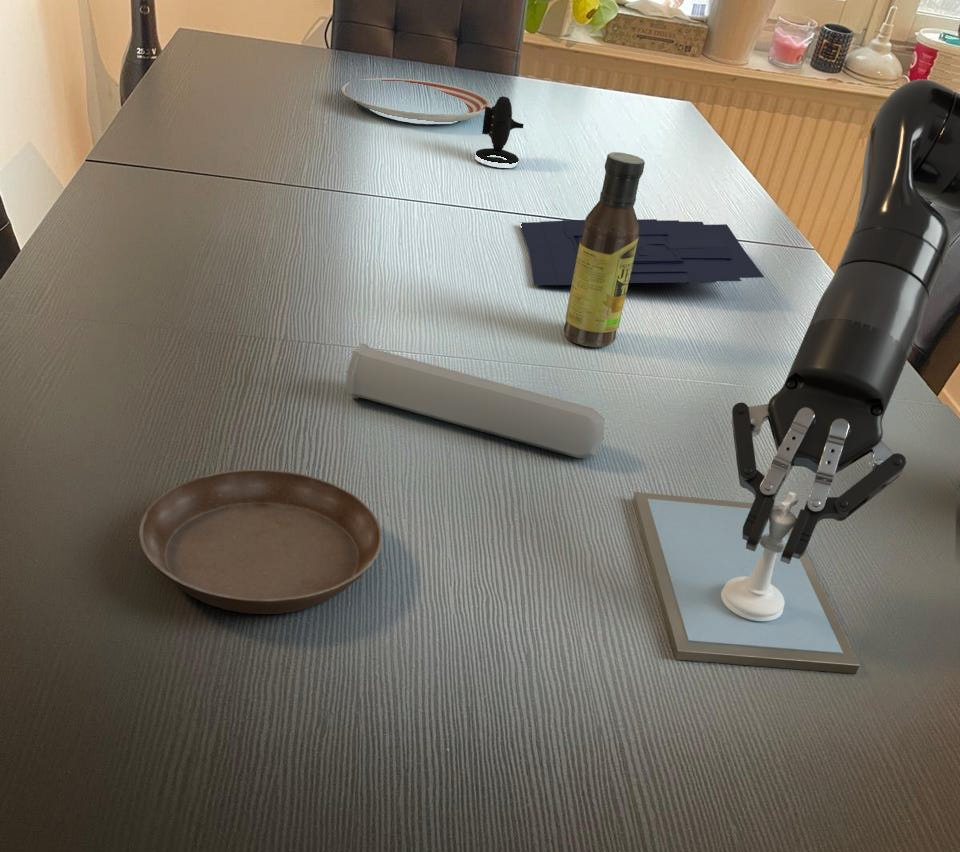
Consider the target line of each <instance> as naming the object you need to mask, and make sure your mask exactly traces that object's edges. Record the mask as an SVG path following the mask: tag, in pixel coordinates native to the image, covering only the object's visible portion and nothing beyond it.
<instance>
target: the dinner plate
mask: <svg viewBox="0 0 960 852" xmlns="http://www.w3.org/2000/svg"><path fill="white" fill-rule="evenodd" d="M361 80H382V81H405V82H410V83H418V84H423V85H428V86H431V87H432V88H435V89H437V90H439V91H442V92H444V93H446V94H449V95H452V96H455V97H457V98H458V99H460V100H462V101H463V102H464V103H465V104H466V105H467V107H468V111H467V113H463V114H425V113H414V112H405V111H399V110H393V109H388V108H383V107H379V106H375V105H371V104H368V103H364V102H362V101H359V100H357V99H354V98H352V97H351V96H349V95H348V94H347V92H346V86H347V85H348V84H349V83H350V82H351V81H350V82H346V83H345V84H343V86H341V93H342V94H343V95H344V96H345V97H347V98H348V99H350V100H351V101H352V100H353V101H352V102H354V101H355V102H356V103H355V102H354V103H355V104H357V103H358V104H360V105H362V106H365V107H367V108H369V109H372V110H375V111H378V112H381V113H384V114H387V115H392V116H397V117H403V118H408V119H417V120H426V121H434V122H454V121H461V122H463V121H467V120H471V119H474V118H477V117H479V116H481V115H484V114H485V107H492V106H491V101H490V100H489V99H488V98H486V97H485V96H484V95H482V94H480V93H478V92H475V91H473V90H469V89H466V88H462V87H459V86H454V85H452V84H451V85H450V84H445V83H440V82H434V81H427V80H419V79H409V78H398V77H397V78H394V77H376V78H375V77H374V78H373V77H372V78H363V79H362V78H361ZM358 104H357V105H358ZM360 105H359V106H360ZM362 106H361V107H362ZM462 120H463V121H462Z"/></svg>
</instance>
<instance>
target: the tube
mask: <svg viewBox="0 0 960 852" xmlns="http://www.w3.org/2000/svg"><path fill="white" fill-rule="evenodd" d="M348 364H349V365H348V368H347V371H346V383H345V384H346V386H345V393H346V394H347V395H348V396H349V397H350V398H352V399H355V400H358V399H364V400H368V401H371V402H375V403H379V404H382V405H385V406H389V407H392V408H397V409H399V410H404V411H407V412H409V413H410V412H411V413H415V414H418V415H422V416H425V417H427V418H433V419H436V420H440V421H443V422H446V423H450V424H454V425H457V426H461V427H465V428H468V429H472V430H475V431H479V432H482V433H486V434H488V435H493V436H496V437H500V438H503V439H507V440H511V441H514V442H518V443H522V444H525V445H528V446H532V447H536V448H539V449H543V450H547V451H550V452H553V453H557V454H560V455H565V456H568V457H570V458H571V457H572V458H575V459H577V460H578V459H579V460H581V459H585V458H591V457H595V455H596V454H597V451H598V450H599V448H600V446H601V444H602V443H603V440H604V439H605V417H603V416H602V414H600V413H599V412H598V411H597V410H595V409H594V408H593V407H589V406H586V405H583V404H578V403H575V402H572V401H568V400H563V399H560V398H557V397H554V396H549V395H545V394H542V393H538V392H535V391H531V390H527V389H523V388H520V387H517V386H512V385H509V384H505V383H501V382H498V381H494V380H491V379H486V378H482V377H479V376H475V375H472V374H469V373H464V372H461V371H457V370H453V369H450V368H446V367H442V366H439V365H434V364H431V363H428V362H425V361H424V362H423V361H420V360H417V359H413V358H410V357H405V356H401V355H398V354H394V353H391V352H387V351H384V350H379V349H377V348H372V347H370V346H369V345H368V344H367V343H364V342H362V343H360V345H358V346H357V347H356V348H355V349H354V350H353V351H352V354H351V358H350V361H349V363H348Z"/></svg>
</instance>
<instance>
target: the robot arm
mask: <svg viewBox="0 0 960 852" xmlns="http://www.w3.org/2000/svg"><path fill="white" fill-rule="evenodd" d="M957 37H958V40H959V41H960V24H959V25H958V30H957ZM865 145H866V146H865V151H864V156H863V157H864V158H863V165H862V166H863V167H862V178H861V189H860V197H859V202H858V208H857V213H856V220H855V224H854V227H853V230H852V232H851V234H850V237H849V239H848V242H847V244H846V246H845V249H844V251H843V253H842V256H841V258H840V261H839V263H838V265H837V267H836V270H835V272H834V275H833V277H832V278H831V280H830V282H829V284H828V285H827V287H826V289H825V290H824V292H823V294H822V295H821V297H820V299H819V301H818V304H817V306H816V308H815V311H814V313H813V315H812V318H811V320H810V322H809V325H808V328H807V329H806V331H805V334H804V337H803V338H802V341H801V343H800V346H799V348H798V350H797V353H796V355H795V357H794V360H793V362H792V365H791V366H790V370H789V371H788V373H787V376H786V378H785V380H784V383H783V385H782V387H781V389H780V390H779V391H777V393H775V394H774V395H772V396H771V398H770V399H769V401H768V403H766V404H759V405H753V406H749V405H747V403H745V402H737V403H735V404H734V405H733V407H732V411H731V427H732V435H733V442H734V451H735V458H736V467H737V474H738V483H739V486H740V487H741V488H743V489H746V490H747V491H749V492H750V493H751V494H752V495H753V497H754V500H753V502H752V503H753V504H752V507H751V509H750V511H749V514H748V516H747V519H746V521H745V523H744V526H743V532H742V539H744V540H747V543H746V549H749V550H751V551H754V552H755V550H756V548H757V546H758V543H759V541H760V539H761V536H762V534H763V532H764V529H765V527H766V524H767V522H768V520H769V515H770V512H771V511H772V510H773V508H774V505H775V502H776V498H777V496H778V495H779V492H780V490H781V489H782V487H783V485H784V483H785V481H786V480H787V478H788V477H789V475H790V473H791V471H792V469H793V467H802V468H806V469H808V470H810V471H811V472H812V473H814V474H815V477H814V480H813V483H812V487H811V491H810V493H809V496H808V499H807V501H806V504H805V505H804V508H800V510H799V513H798V515H797V516H796V518H797V520H796V522H795V524H794V526H793V529H792V531H791V534H790V536H789V539H788V541H787V543H786V546H785V548H784V551H783V553H782V556H781V559H780V561H782V562H784V563H787V564H789V563H790V561H791V559H792V557H794V558H796V559H800V558H801V557H802V556H803V555H804V553H805V552H806V551H807V548H808V545H809V543H810V541H811V539H812V536H813V533H814V532H815V529H816V527H817V524H818V523H819V522H820V521H822V520H827V519H829V520H831V519H833V520H834V521H837V522H843V521H845V520H846V519H848V518H849V517H850V516H852V515H853V514H854V513H855V512H857V511H858V510H859V509H860V508H862V507H863V506H864V505H865V504H866V503H868V502H870V500H872V499H873V498H874V497H876V496H877V495H878V494H879V493H881V492H882V491H883V490H884V489H886V488H887V487H888V486H889V485H891V484H892V483H894V482H895V481H896V480H897V479H898V478H899V477H900V475H901V474H902V473H903V470H904V468H905V467H906V464H907V458H906V457H905V456H904V455H903V454H902V453H900V452H899V453H894V452H893V451H892V450H891V449H890V447H889V446H888V445H887V444H885V442H884V441H883V440H882V439H883V435H884V430H883V418H884V415H885V413H886V411H887V408H888V406H889V405H890V401H891V399H892V396H893V394H894V392H895V389H896V387H897V385H898V382H899V380H900V377H901V375H902V372H903V370H904V367H905V366H906V363H907V361H908V359H909V358H910V356H911V354H912V352H913V346H914V344H915V341H916V340H917V337H918V334H919V332H920V329H921V326H922V322H923V317H924V313H925V310H926V306H927V305H928V301H929V298H930V297H931V294H932V291H933V290H934V286H935V284H936V281H937V279H938V277H939V274H940V272H941V269H942V268H943V265H944V263H945V260H946V259H947V255H948V253H949V251H950V247H951V243H952V231H951V228H950V226H949V223H948V222H947V220H946V219H945V217H944V216H943V215H942V214H941V213H940V212H939V211H938V210H937V209H936V208H934V207H933V206H932V205H931V204H930V203H932V204H935V205H937V206H939V207H941V208H943V209H945V210H948V211H951V212H955V213H960V93H959V92H958V91H954V90H953V89H951V88H950V87H947V86H945V85H943V84H941V83H938V82H936V81H934V80H930V79H924V78H923V79H922V78H921V79H914V80H911V81H909V82H906V83H905V84H901V86H899V87H898V88H897V89H895V90H894V91H893V92H892V93H891V94H889V96H888V97H887V98H886V99H885V100H884V102H882V104H881V106H880V107H879V109H878V111H877V113H876V114H875V117H874V119H873V121H872V123H871V126H870V129H869V133H868V136H867V141H866V144H865ZM927 201H929V202H930V203H929V202H927ZM766 421H768V423H769V428H770V431H771V435H772V439H773V442H774V446H775V448H776V453H775V455H774V457H773V459H772V460H771V463H770V465H769V467H768V469H767V472H766V473H765V475H764V474H763V473H762V472H760V471H759V470H758V469H757V461H756V453H755V445H754V437H757V436H758V435H760V433H761V431H762V425H763V423H765V422H766ZM869 454H870V455H871V459H870V460H869V462H868V463H867V466H866V473H867V474H866V475H865V476H863V477H862V478H861V479H860V480H858V481H857V482H856V483H855V484H853V485H852V486H851V487H849V488H848V489H847V490H846V491H845V492H843V493H842V494H841V495H839V496H833V497H832V496H829V492H830V490H831V486H832V483H833V480H834V477H835V474H837V473H839V472H841V471H843V470H844V469H845V468H848V467H849V466H851V465H853V464H854V463H857V462H858V461H859V460H861V459H863V458H864V457H866V456H867V455H869Z"/></svg>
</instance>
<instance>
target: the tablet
mask: <svg viewBox="0 0 960 852" xmlns="http://www.w3.org/2000/svg"><path fill="white" fill-rule="evenodd" d="M632 504H633V508H634V511H635V515H636V518H637V522H638V526H639V530H640V533H641V537H642V541H643V545H644V548H645V552H646V556H647V560H648V562H649V566H650V571H651V573H652V579H653V581H654V585H655V589H656V592H657V593H656V594H657V596H658V600H659V604H660V608H661V611H662V615H663V618H664V623H665V626H666V629H667V634H668V638H669V641H670V644H671V648H672V653H673V656H674V660H675V661H686V662H687V661H689V662H702V663H711V664H712V663H715V664H725V665H727V664H728V665H739V666H751V667H764V668H777V669H778V668H779V669H789V670H802V671H815V672H826V673H827V672H828V673H839V674H851V675H853V674H854V675H856V674H857V672H858V670H859V667H860V663H859V661H858V659H857V656H856V654H855V653H854V651H853V648H852V647H851V644H850V642H849V639H848V638H847V636H846V634H845V631H844V629H843V627H842V625H841V623H840V621H839V619H838V617H837V614H836V613H835V611H834V609H833V606H832V604H831V602H830V600H829V598H828V596H827V593H826V592H825V590H824V588H823V586H822V583H821V581H820V579H819V577H818V575H817V573H816V571H815V568H814V566H813V564H812V562H811V560H810V559H809V556H808V553H807V552H806V551H805V553H804V555H803V556H802V557H801V558H800V559H796V558H794V557H792V559H791V561H790V563H789V564H787V563H784V562H782V561H780V559H781V556H782V553H783V552H781V553H777V555H776V559H775V563H774V568H773V572H772V577H771V582H770V584H772V585H773V586H774V587H776V588H777V589H778V590H779V591H780V592H781V594H782V595H783V597H784V602H785V603H784V607H783V612H782V614H781V615H780V616H779V617H778V618H776V619H774V620H771V621H754V620H750V619H746V618H743V617H741V616H739V615H737V614H735V613H734V612H732V611H731V610H730V609H729V608H727V607H726V605H725V604H724V603H723V601H722V598H721V592H722V589H723V588H724V586H725V584H726V583H727V582H728V581H729V580H731V579H733V578H736V577H742V576H746V577H750V575H751V574H752V572H753V570H754V568H755V566H756V565H757V563H758V561H759V559H760V557H761V555H762V553H763V551H764V549H765V548H763V547H762V546H761V545H760V543H758V546H757V548H756V550H755V552H754V551H751V550H749V549H746V543H747V540H744V539H742V532H743V526H744V523H745V521H746V519H747V516H748V514H749V511H750V509H751V507H752V504H753V502H744V501H734V500H725V499H724V500H723V499H713V498H704V497H702V498H701V497H693V496H681V495H672V494H671V495H670V494H663V493H661V494H659V493H651V492H642V491H641V492H639V491H634V492H633V496H632ZM775 509H780V508H779V505H776V504H774V508H773V510H775ZM769 526H770V523H769V520H768V522H767V524H766V527H765V529H764V532H763V534H762V536H763V535H765V534H769ZM792 529H793V528H791V529H790V531H789V532H788V533H787V535H786V536H785V537H784V539H785V540H786V542H787V541H788V539H789V536H790V534H791V531H792ZM762 536H761V537H762Z"/></svg>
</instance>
